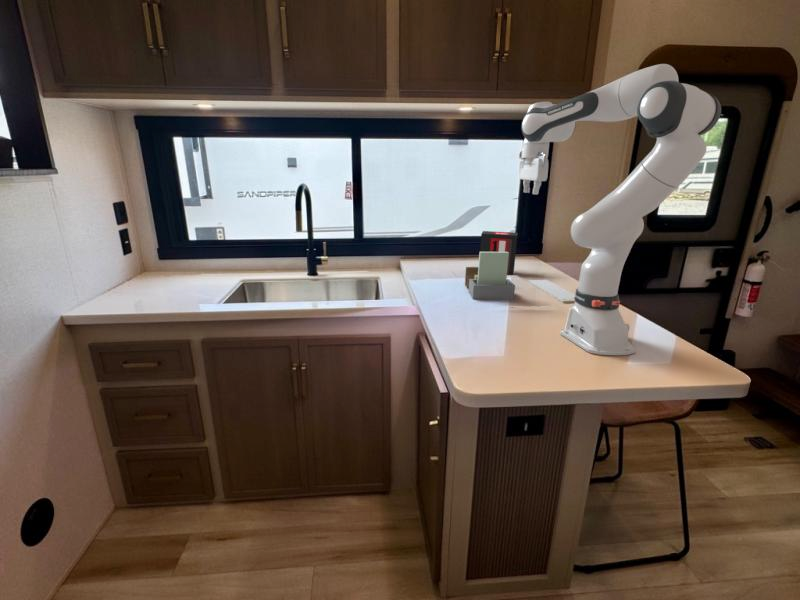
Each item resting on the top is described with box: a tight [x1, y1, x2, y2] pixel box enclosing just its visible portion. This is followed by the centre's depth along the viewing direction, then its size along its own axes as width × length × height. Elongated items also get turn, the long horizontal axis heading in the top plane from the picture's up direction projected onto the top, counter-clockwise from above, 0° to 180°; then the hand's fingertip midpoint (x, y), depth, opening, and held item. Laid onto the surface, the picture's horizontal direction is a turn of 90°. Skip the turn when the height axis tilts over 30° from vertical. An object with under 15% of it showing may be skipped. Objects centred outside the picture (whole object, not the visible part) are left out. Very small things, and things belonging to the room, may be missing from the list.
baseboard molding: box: [527, 279, 575, 304], centre depth 175 cm, size 31×3×12 cm
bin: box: [467, 278, 516, 300], centre depth 163 cm, size 9×16×7 cm, turn 92°
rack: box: [464, 266, 478, 292], centre depth 172 cm, size 10×15×10 cm, turn 92°
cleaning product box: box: [479, 230, 519, 276], centre depth 201 cm, size 16×9×20 cm, turn 74°
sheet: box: [477, 251, 509, 285], centre depth 161 cm, size 2×11×18 cm, turn 92°
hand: (530, 193), depth 149 cm, fingers open, 8 cm apart
